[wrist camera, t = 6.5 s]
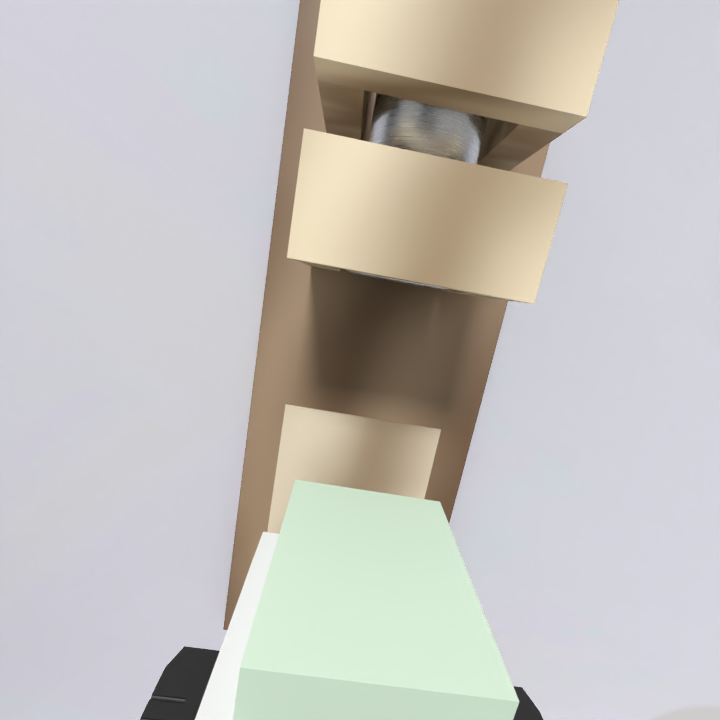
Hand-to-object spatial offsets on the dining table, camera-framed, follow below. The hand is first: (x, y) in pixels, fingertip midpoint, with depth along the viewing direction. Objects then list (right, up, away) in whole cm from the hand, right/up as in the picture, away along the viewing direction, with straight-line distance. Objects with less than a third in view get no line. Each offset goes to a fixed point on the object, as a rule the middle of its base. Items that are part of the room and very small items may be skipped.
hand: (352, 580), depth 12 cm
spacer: (0, 0, +1) cm, 1 cm away
